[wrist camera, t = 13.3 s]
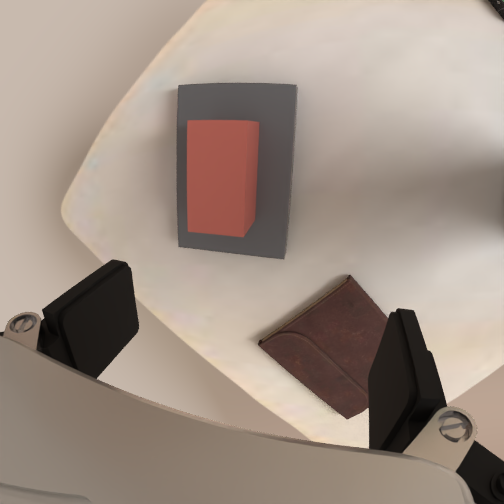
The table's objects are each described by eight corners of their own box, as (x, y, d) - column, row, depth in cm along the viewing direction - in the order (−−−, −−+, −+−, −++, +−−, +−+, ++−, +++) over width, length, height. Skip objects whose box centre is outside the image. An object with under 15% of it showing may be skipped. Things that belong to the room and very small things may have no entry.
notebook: (349, 272, 35) (351, 280, 34) (426, 364, 38) (430, 373, 36) (259, 338, 41) (256, 347, 40) (345, 411, 44) (345, 420, 42)
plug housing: (259, 122, 29) (247, 120, 24) (255, 219, 33) (243, 237, 28) (208, 121, 30) (187, 120, 25) (207, 215, 33) (187, 231, 28)
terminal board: (297, 87, 29) (293, 78, 23) (285, 252, 35) (279, 275, 30) (185, 87, 30) (161, 80, 25) (185, 240, 37) (163, 260, 32)
